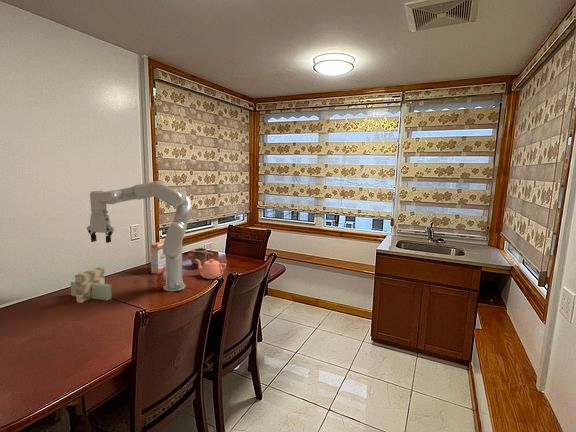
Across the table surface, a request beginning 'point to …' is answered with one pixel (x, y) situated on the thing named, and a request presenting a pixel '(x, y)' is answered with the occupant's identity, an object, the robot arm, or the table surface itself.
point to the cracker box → (157, 258)
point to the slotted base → (95, 291)
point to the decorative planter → (199, 256)
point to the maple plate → (88, 282)
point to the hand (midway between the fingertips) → (101, 241)
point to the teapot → (211, 269)
